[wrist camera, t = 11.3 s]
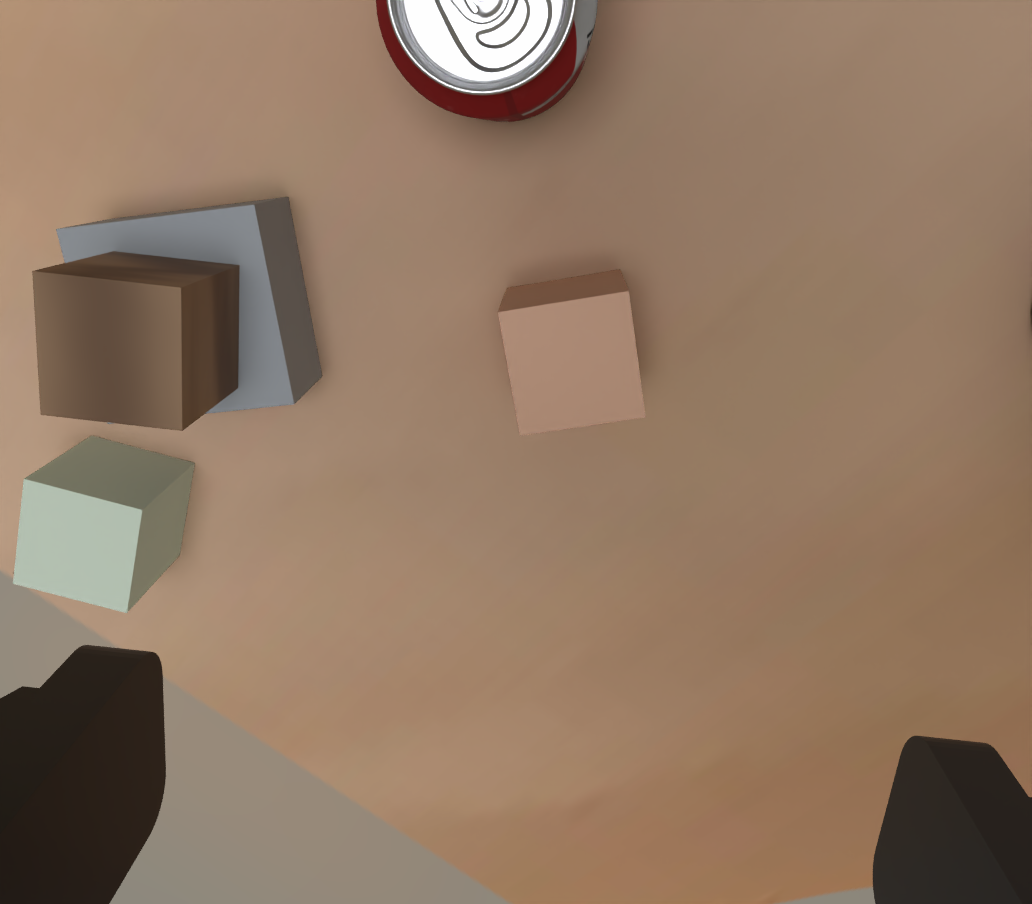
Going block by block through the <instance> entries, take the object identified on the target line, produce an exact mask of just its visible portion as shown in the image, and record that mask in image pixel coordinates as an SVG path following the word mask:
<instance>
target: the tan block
mask: <svg viewBox="0 0 1032 904" xmlns="http://www.w3.org/2000/svg"><path fill="white" fill-rule="evenodd" d="M498 316H499V321H500V327H501V333H502V338H503V344H504V349H505V355H506V361H507V366H508V372H509V378H510V383H511V389H512V395H513V400H514V406H515V411H516V417H517V423H518V428H519V434H520V436H524V435H530V434H537V433H544V432H550V431H557V430H564V429H571V428H577V427H584V426H591V425H598V424H604V423H611V422H618V421H624V420H631V419H638V418H645V417H646V416H645V408H644V401H643V393H642V386H641V378H640V371H639V363H638V356H637V348H636V341H635V333H634V326H633V319H632V311H631V304H630V296H629V290H628V288H627V285H626V283H625V280H624V278H623V275H622V273H621V271H620V269H619V270H613V271H607V272H601V273H595V274H589V275H583V276H577V277H571V278H565V279H559V280H553V281H547V282H540V283H534V284H528V285H522V286H516V287H510V288H507V289H506V292H505V294H504V297H503V300H502V303H501V305H500V308H499V311H498Z"/></svg>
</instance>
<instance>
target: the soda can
mask: <svg viewBox="0 0 1032 904" xmlns="http://www.w3.org/2000/svg"><path fill="white" fill-rule="evenodd" d="M597 2H598V0H376V6H377V15H378V21H379V26H380V30H381V34H382V37H383V40H384V42H385V45H386V48H387V50H388V52H389V54H390V56H391V58H392V60H393V62H394V63H395V65H396V67H397V68H398V70H399V71H400V72H401V74H402V75H403V76H404V78H405V79H406V80H407V81H408V82H409V83H410V85H411V86H412V87H414V88H415V89H416V90H417V91H418V92H419V93H420V94H421V95H423V96H424V97H425V98H426V99H428V100H429V101H431V102H433V103H434V104H436V105H437V106H439V107H441V108H443V109H445V110H448V111H450V112H453V113H456V114H459V115H463V116H467V117H473V118H479V119H485V120H491V121H498V122H512V121H519V120H524V119H527V118H531V117H533V116H536V115H538V114H540V113H542V112H544V111H546V110H547V109H549V108H550V107H552V106H553V105H554V104H556V103H557V102H558V101H559V100H560V99H561V98H562V97H563V96H564V95H565V94H566V93H567V92H568V91H569V90H570V88H571V87H572V85H573V84H574V83H575V81H576V79H577V78H578V76H579V74H580V72H581V70H582V67H583V65H584V62H585V59H586V56H587V52H588V49H589V45H590V41H591V38H592V34H593V30H594V26H595V21H596V14H597Z"/></svg>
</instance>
